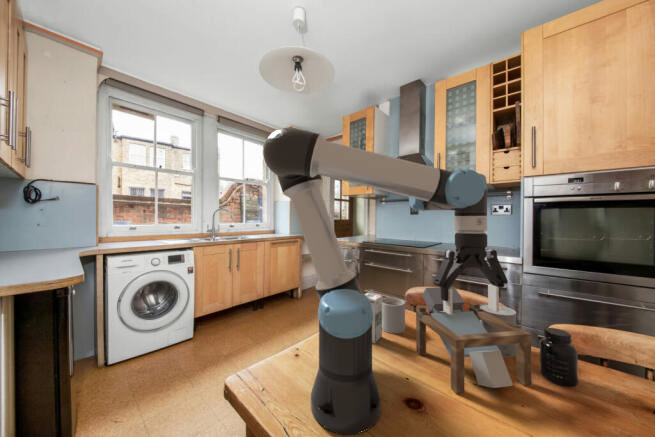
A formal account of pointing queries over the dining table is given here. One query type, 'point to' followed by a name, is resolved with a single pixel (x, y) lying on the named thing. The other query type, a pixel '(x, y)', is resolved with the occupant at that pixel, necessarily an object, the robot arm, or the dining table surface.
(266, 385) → the dining table surface
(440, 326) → the hatch frame
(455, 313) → the trapdoor
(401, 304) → the mug
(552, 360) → the supplement bottle
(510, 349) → the short grey cylinder
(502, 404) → the dining table surface
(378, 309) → the syrup box
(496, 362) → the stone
